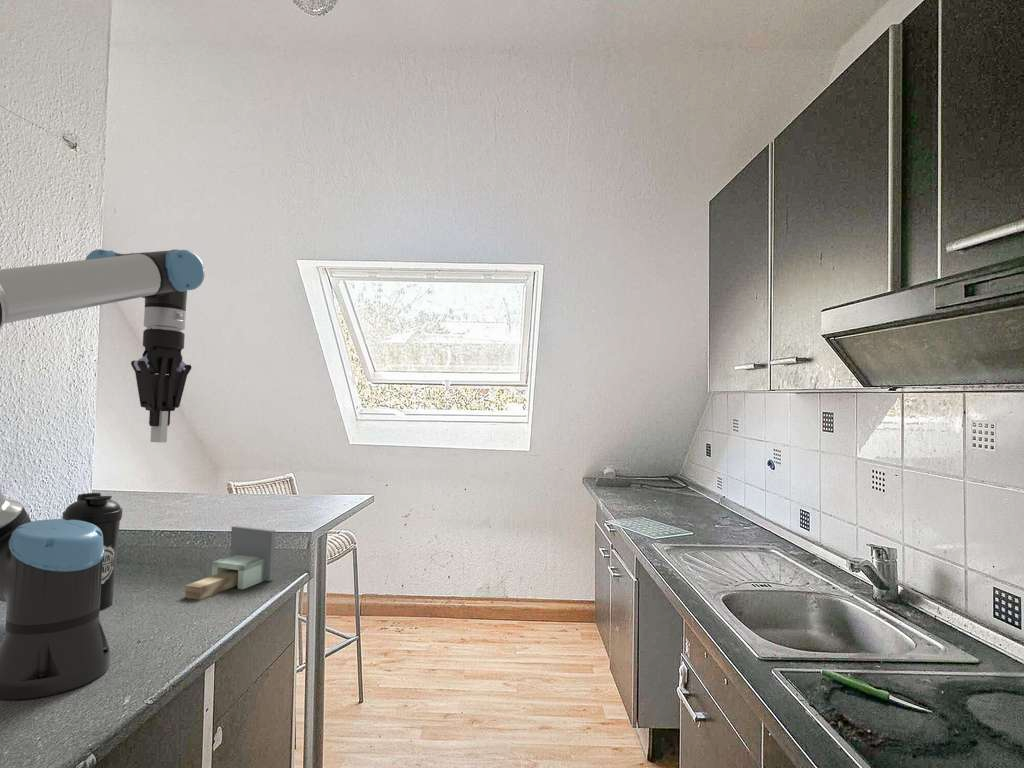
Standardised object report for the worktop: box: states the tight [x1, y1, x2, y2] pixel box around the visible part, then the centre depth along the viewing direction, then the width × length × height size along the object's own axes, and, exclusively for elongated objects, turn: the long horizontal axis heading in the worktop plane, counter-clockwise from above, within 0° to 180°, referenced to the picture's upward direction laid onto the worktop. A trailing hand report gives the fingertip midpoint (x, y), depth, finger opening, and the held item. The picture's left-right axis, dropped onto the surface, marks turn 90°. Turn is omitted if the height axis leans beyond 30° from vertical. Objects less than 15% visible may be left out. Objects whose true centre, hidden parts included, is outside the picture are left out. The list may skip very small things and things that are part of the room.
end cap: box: [211, 525, 276, 590], centre depth 141 cm, size 8×12×12 cm
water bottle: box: [61, 492, 123, 611], centre depth 122 cm, size 10×10×23 cm
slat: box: [184, 569, 238, 601], centre depth 135 cm, size 14×4×3 cm, turn 163°
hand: (158, 441), depth 123 cm, fingers closed
